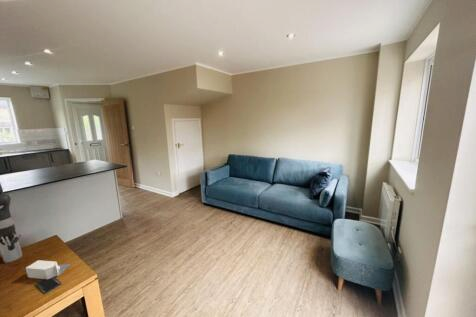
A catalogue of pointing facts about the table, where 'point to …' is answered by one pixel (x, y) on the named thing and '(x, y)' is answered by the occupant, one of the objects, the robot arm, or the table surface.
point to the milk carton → (43, 269)
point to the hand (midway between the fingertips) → (12, 249)
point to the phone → (48, 284)
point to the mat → (63, 268)
